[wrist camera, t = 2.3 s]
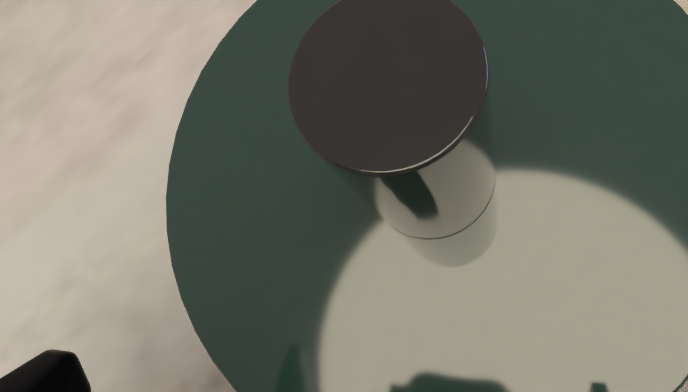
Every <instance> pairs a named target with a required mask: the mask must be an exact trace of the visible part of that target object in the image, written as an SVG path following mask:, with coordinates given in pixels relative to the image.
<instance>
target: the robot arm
mask: <svg viewBox="0 0 688 392" xmlns="http://www.w3.org/2000/svg"><path fill="white" fill-rule="evenodd" d="M0 392H91V387H90V384H89V382H88V379H87V377H86V375H85V373H84V370H83V368H82V366H81V364H80V361H79V359H78V357H77V356H76V355H75V354H74V353H72V352H68V351H61V350H47V351H45V352H43V353H41V354H40V355H38V356H36V357H35V358H33V359H31V360H30V361H28V362H27V363H25V364H23V365H22V366H20V367H18V368H17V369H15V370H14V371H12V372H10V373H9V374H7V375H5V376H4V377H2V378H1V379H0Z"/></svg>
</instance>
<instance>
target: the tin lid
mask: <svg viewBox="0 0 688 392" xmlns="http://www.w3.org/2000/svg"><path fill="white" fill-rule="evenodd" d="M166 214H167V235H168V242H169V249H170V255H171V262H172V267H173V271H174V274H175V278H176V281H177V285H178V288H179V292H180V296H181V299H182V301H183V304H184V306H185V308H186V311H187V313H188V315H189V318H190V320H191V323H192V325H193V327H194V330H195V332H196V333H197V335H198V337H199V339H200V340H201V342H202V344H203V345H204V347H205V349H206V350H207V352H208V354H209V356H210V357H211V359H212V361H213V362H214V364H215V365H216V366H217V368H218V369H219V370H220V371H221V373H222V374H223V375H224V377H225V378H226V379H227V380H228V382H229V383H230V384H231V385H232V387H233V388H234V389H235V391H236V392H677V391H678V390H679V389H680V388H681V387H682V386H683V385H684V384H685V382H686V381H687V380H688V15H687V14H686V13H685V11H684V10H683V9H682V8H681V7H680V6H679V5H678V4H677V3H676V2H675V1H674V0H257V1H256V2H255V3H254V4H253V5H252V6H251V7H250V8H249V9H248V10H247V11H246V12H245V13H244V14H243V15H242V16H241V17H240V18H239V19H238V21H237V22H236V23H235V24H234V26H233V27H232V28H231V29H230V30H229V32H228V33H227V34H226V35H225V37H224V38H223V39H222V40H221V42H220V43H219V44H218V46H217V48H216V49H215V51H214V52H213V54H212V56H211V57H210V59H209V60H208V62H207V63H206V65H205V67H204V68H203V70H202V71H201V74H200V76H199V78H198V80H197V82H196V84H195V86H194V88H193V90H192V92H191V94H190V96H189V98H188V100H187V103H186V106H185V109H184V112H183V115H182V118H181V121H180V123H179V126H178V129H177V132H176V137H175V141H174V146H173V150H172V155H171V159H170V164H169V173H168V184H167V194H166Z"/></svg>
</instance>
